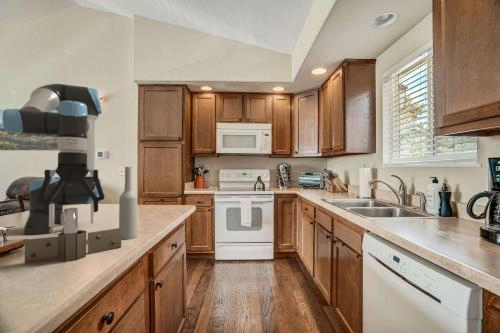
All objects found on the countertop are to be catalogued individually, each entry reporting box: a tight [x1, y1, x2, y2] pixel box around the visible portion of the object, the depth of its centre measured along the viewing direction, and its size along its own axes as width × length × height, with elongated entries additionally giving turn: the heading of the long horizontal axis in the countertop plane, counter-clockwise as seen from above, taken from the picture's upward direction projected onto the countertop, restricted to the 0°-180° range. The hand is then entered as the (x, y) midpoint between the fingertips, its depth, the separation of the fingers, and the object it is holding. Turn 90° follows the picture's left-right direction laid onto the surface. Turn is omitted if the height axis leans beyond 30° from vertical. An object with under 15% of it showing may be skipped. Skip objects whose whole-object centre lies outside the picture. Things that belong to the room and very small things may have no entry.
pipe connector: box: [49, 214, 64, 234], centre depth 99 cm, size 10×10×10 cm
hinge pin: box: [63, 207, 79, 235], centre depth 81 cm, size 4×4×15 cm
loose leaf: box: [87, 227, 122, 254], centre depth 87 cm, size 10×1×6 cm, turn 135°
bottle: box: [118, 166, 138, 240], centre depth 104 cm, size 7×7×28 cm
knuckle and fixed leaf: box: [24, 229, 87, 265], centre depth 79 cm, size 7×15×8 cm, turn 116°
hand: (72, 224), depth 81 cm, fingers open, 10 cm apart
